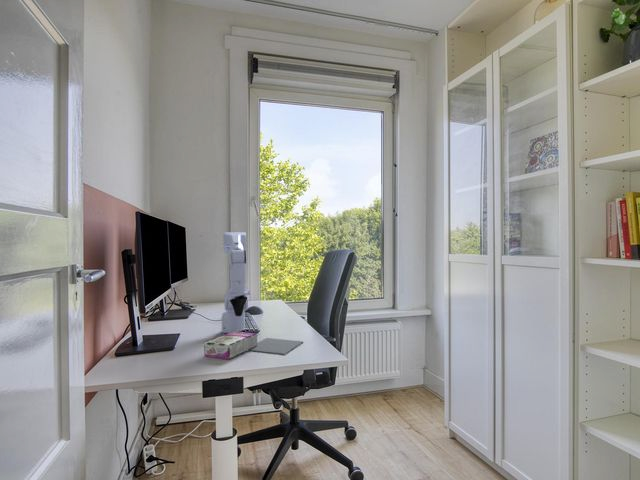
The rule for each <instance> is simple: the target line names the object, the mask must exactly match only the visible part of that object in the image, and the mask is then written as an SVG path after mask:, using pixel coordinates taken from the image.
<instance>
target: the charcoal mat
mask: <svg viewBox="0 0 640 480" xmlns="http://www.w3.org/2000/svg"><path fill="white" fill-rule="evenodd" d="M303 343H304V341H302V340H294V339H293V340H292V339H282V338H281V339H280V338H272V337H266V338H263V339H262V340H260V341H257V346H255V347H253V348H251V349H249V350H247V351H248V352H255V353H263V354H264V353H266V354H275V355H281V356H286V355H288V354H289V353H290V352H292V351H293V350H295V349H297V348H298V347H299V346H300V345H302V344H303Z"/></svg>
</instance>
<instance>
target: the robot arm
mask: <svg viewBox="0 0 640 480" xmlns="http://www.w3.org/2000/svg"><path fill="white" fill-rule="evenodd" d="M222 235H223V237H222V239H223V240H222V241H223V244H222V245H223V250H224V253H226V254H228V262H229V272H230V274H229V276H230V288H229V289H228V290H227V291H225V293H224V297H223V298H224V303H223V304H224V311H223V312H222V314H221V331H220V333H222V334H228V333H231V332H239V331H242V330H244V329H246V320H245V319H246V318H245V317H246V315H245V314H246V311H247V310H248V308H249V295H251V289H247V286H246V284H247V283H246V282H247V279H246V272H247V271H246V265H247V262H248V256H247V255H248V254H247V250H246V243H247V235H246V232H245V231H242V232H241V231H240V232H239V231H235V232H233V231H232V232H230V231H227V232H226V231H224V232H223V233H222Z"/></svg>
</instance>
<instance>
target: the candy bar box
mask: <svg viewBox="0 0 640 480" xmlns="http://www.w3.org/2000/svg"><path fill="white" fill-rule="evenodd" d="M257 343H258V333H256V332H247V331H245V332H231V333H225V334H222V335H221V336H218V337H215V338H213V339H210V340H208V341H206V342H203V348H204V349H203V350H204V353H203V354H204V357H210V358H211V357H212V358H220V359H228V360H229V359H232V358H233V357H236V356H238V355H241V354H242V353H245V352H246V351H247V350H249V349H251V348H253V347H255V346H257Z"/></svg>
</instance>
